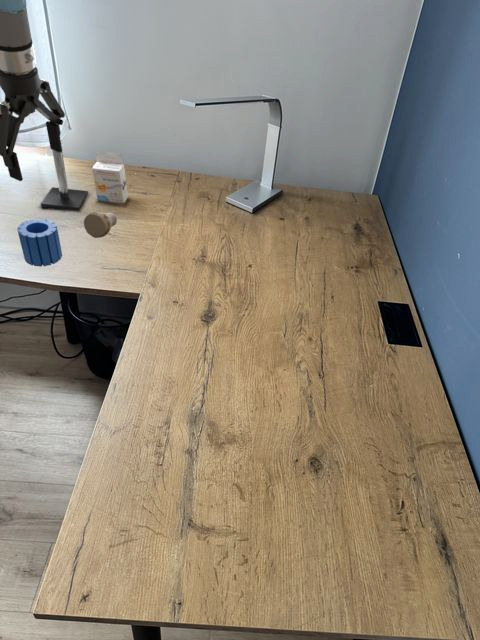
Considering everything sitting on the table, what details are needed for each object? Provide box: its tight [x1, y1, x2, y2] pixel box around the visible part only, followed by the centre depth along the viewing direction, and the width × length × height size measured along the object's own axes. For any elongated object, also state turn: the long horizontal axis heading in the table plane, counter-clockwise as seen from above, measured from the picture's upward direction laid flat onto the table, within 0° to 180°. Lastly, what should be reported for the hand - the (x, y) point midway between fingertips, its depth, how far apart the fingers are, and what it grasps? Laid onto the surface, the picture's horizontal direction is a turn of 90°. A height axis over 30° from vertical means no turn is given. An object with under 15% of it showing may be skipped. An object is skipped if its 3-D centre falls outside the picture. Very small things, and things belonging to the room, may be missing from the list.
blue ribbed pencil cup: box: [16, 218, 63, 268], centre depth 128 cm, size 9×9×10 cm
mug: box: [83, 211, 118, 239], centre depth 143 cm, size 8×10×10 cm
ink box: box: [91, 151, 129, 204], centre depth 153 cm, size 8×5×15 cm, turn 84°
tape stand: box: [40, 149, 89, 211], centre depth 149 cm, size 11×11×17 cm
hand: (37, 163), depth 114 cm, fingers open, 13 cm apart
